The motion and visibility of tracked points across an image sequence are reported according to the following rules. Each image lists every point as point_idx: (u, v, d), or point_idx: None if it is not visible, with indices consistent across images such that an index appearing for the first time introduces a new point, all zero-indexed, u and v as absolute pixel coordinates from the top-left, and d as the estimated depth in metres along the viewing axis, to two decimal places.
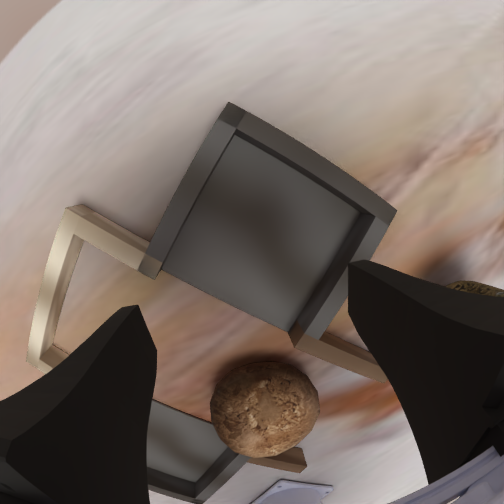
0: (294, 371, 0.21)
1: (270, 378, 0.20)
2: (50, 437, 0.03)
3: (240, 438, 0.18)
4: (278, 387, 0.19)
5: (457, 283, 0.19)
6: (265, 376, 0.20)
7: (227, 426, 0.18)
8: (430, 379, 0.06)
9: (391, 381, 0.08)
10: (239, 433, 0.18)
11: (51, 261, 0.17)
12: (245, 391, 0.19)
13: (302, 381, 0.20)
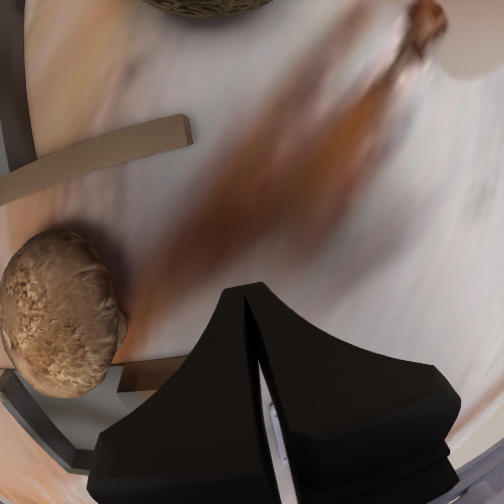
0: (37, 236, 0.11)
1: (7, 266, 0.10)
2: (258, 429, 0.04)
3: (19, 372, 0.10)
4: (9, 272, 0.10)
5: None
6: (6, 267, 0.11)
7: (11, 361, 0.10)
8: (282, 428, 0.05)
9: (277, 414, 0.08)
10: (14, 365, 0.10)
11: None
12: None
13: (36, 242, 0.10)
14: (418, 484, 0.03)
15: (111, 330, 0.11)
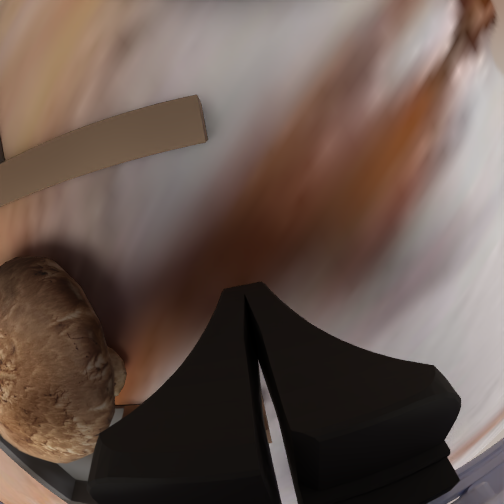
0: (5, 266, 0.08)
1: None
2: (258, 429, 0.04)
3: None
4: None
5: None
6: None
7: None
8: (282, 428, 0.05)
9: (277, 414, 0.08)
10: None
11: None
12: None
13: (1, 278, 0.07)
14: (418, 484, 0.03)
15: (105, 395, 0.08)
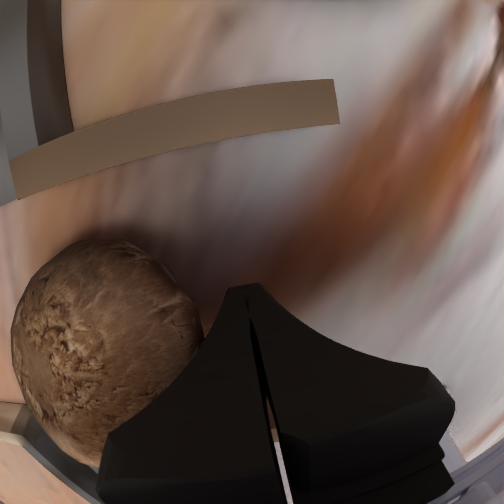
0: (72, 248, 0.08)
1: (25, 294, 0.07)
2: (268, 427, 0.04)
3: (56, 443, 0.06)
4: (29, 306, 0.07)
5: None
6: (22, 295, 0.07)
7: (40, 423, 0.07)
8: (276, 429, 0.05)
9: (273, 415, 0.08)
10: (47, 434, 0.07)
11: None
12: (12, 344, 0.07)
13: (75, 261, 0.07)
14: (412, 487, 0.03)
15: None
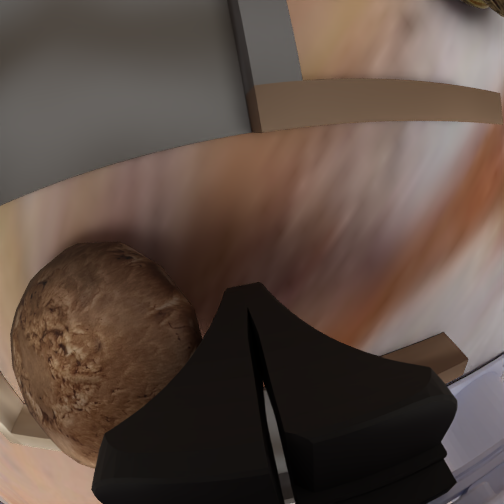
0: (69, 252, 0.08)
1: (24, 298, 0.07)
2: (264, 428, 0.04)
3: (57, 445, 0.07)
4: (28, 310, 0.07)
5: None
6: (21, 299, 0.07)
7: None
8: (279, 429, 0.05)
9: (274, 415, 0.08)
10: (48, 436, 0.07)
11: None
12: (12, 347, 0.07)
13: (72, 264, 0.07)
14: (414, 486, 0.03)
15: None
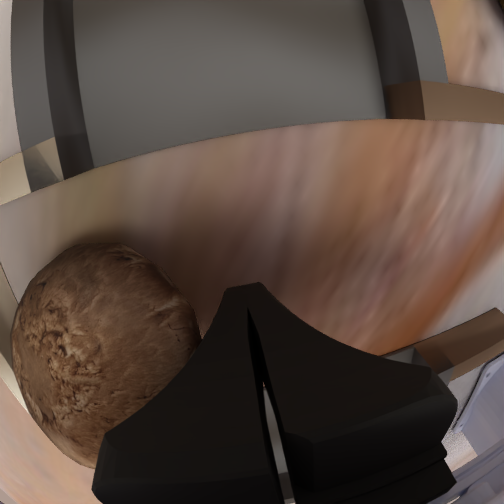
0: (69, 253, 0.08)
1: (24, 299, 0.07)
2: (264, 428, 0.04)
3: (56, 446, 0.06)
4: (28, 310, 0.07)
5: None
6: (21, 300, 0.07)
7: None
8: (279, 429, 0.05)
9: None
10: (48, 436, 0.07)
11: None
12: (11, 349, 0.07)
13: (71, 265, 0.07)
14: (414, 486, 0.03)
15: None
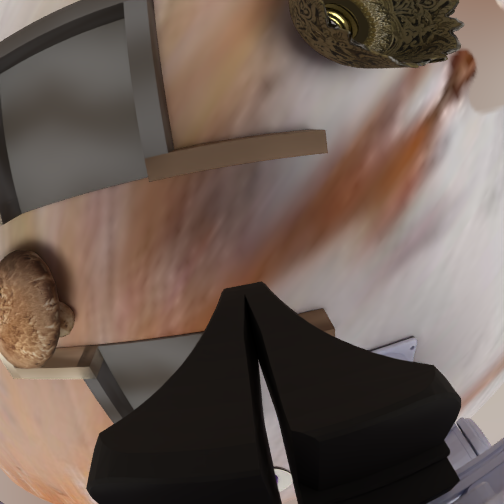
0: (9, 255, 0.15)
1: None
2: (258, 429, 0.04)
3: None
4: None
5: None
6: None
7: None
8: (282, 428, 0.05)
9: (277, 414, 0.08)
10: None
11: None
12: None
13: (8, 260, 0.14)
14: (418, 484, 0.03)
15: (54, 320, 0.15)
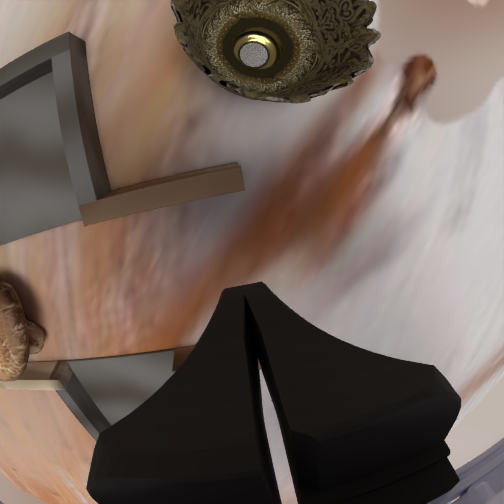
0: None
1: None
2: (258, 429, 0.04)
3: None
4: None
5: (208, 6, 0.11)
6: None
7: None
8: (282, 428, 0.05)
9: (277, 414, 0.08)
10: None
11: None
12: None
13: None
14: (418, 484, 0.03)
15: (22, 342, 0.16)
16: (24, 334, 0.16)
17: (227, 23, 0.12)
